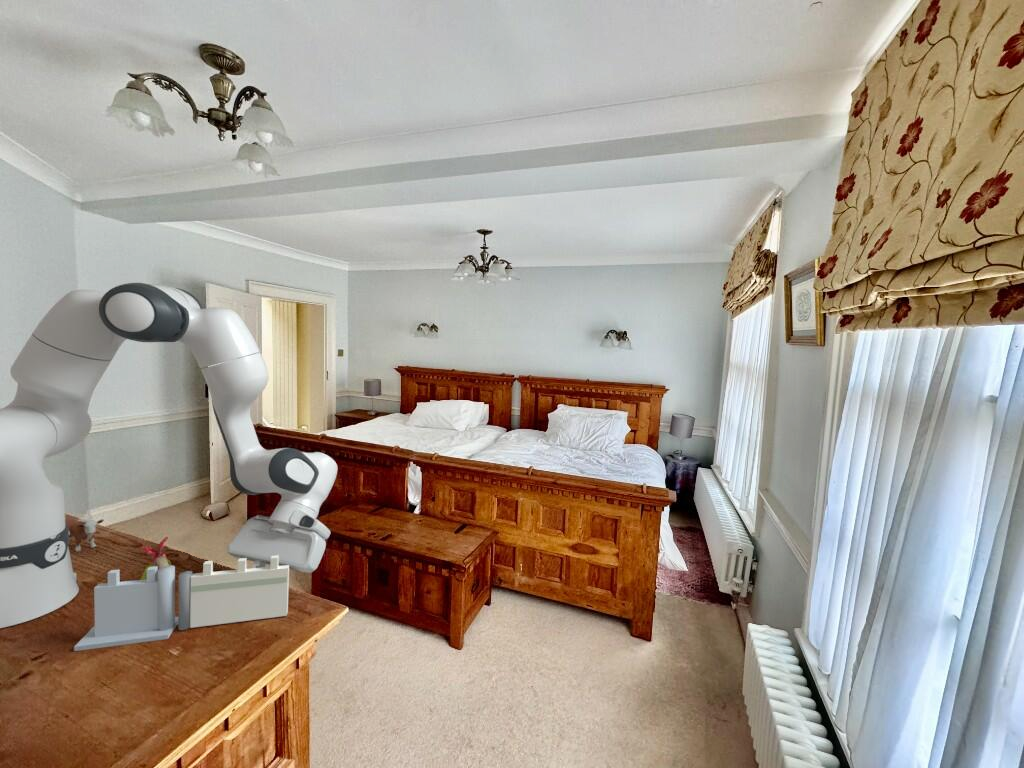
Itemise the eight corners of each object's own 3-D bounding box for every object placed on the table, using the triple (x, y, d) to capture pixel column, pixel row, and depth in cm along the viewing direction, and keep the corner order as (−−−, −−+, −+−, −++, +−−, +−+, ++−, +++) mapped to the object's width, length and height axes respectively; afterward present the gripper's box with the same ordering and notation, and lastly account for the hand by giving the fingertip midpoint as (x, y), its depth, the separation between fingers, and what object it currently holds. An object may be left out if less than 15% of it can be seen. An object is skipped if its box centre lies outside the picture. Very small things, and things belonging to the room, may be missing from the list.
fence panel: (176, 631, 74) (176, 567, 73) (181, 623, 76) (181, 561, 75) (286, 616, 80) (288, 558, 79) (288, 610, 82) (289, 553, 81)
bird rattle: (185, 593, 89) (169, 564, 92) (194, 556, 85) (177, 527, 89) (148, 608, 83) (133, 576, 87) (156, 569, 80) (140, 538, 84)
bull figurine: (88, 557, 95) (87, 524, 94) (45, 547, 98) (44, 515, 97) (109, 548, 99) (109, 517, 98) (68, 539, 102) (67, 508, 101)
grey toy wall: (74, 651, 69) (72, 582, 67) (93, 630, 73) (92, 566, 72) (167, 638, 73) (167, 573, 72) (180, 620, 78) (180, 559, 76)
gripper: (244, 508, 91) (203, 572, 82) (325, 523, 87) (291, 592, 78) (259, 519, 96) (222, 581, 87) (337, 533, 92) (306, 600, 83)
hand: (255, 586), depth 83 cm, fingers closed
